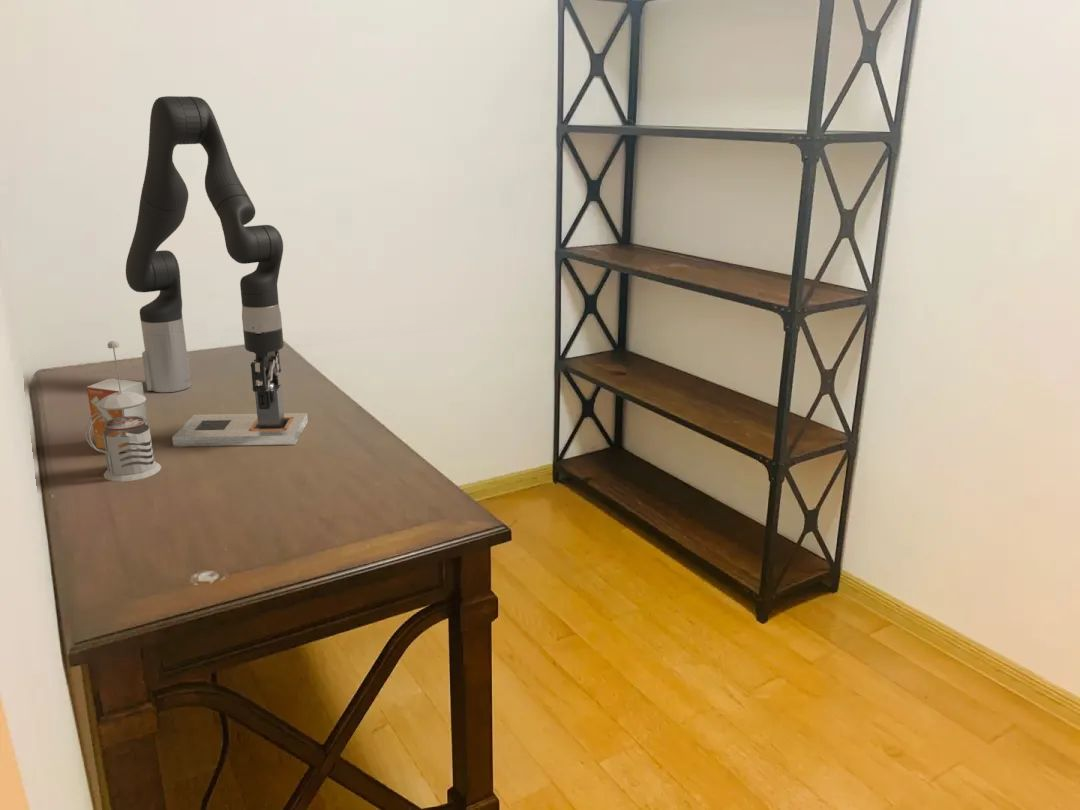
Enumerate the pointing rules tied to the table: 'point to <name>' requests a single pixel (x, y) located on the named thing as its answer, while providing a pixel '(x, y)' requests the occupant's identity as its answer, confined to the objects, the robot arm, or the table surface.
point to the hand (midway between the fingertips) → (269, 402)
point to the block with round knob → (272, 409)
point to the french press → (125, 437)
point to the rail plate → (238, 430)
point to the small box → (103, 390)
